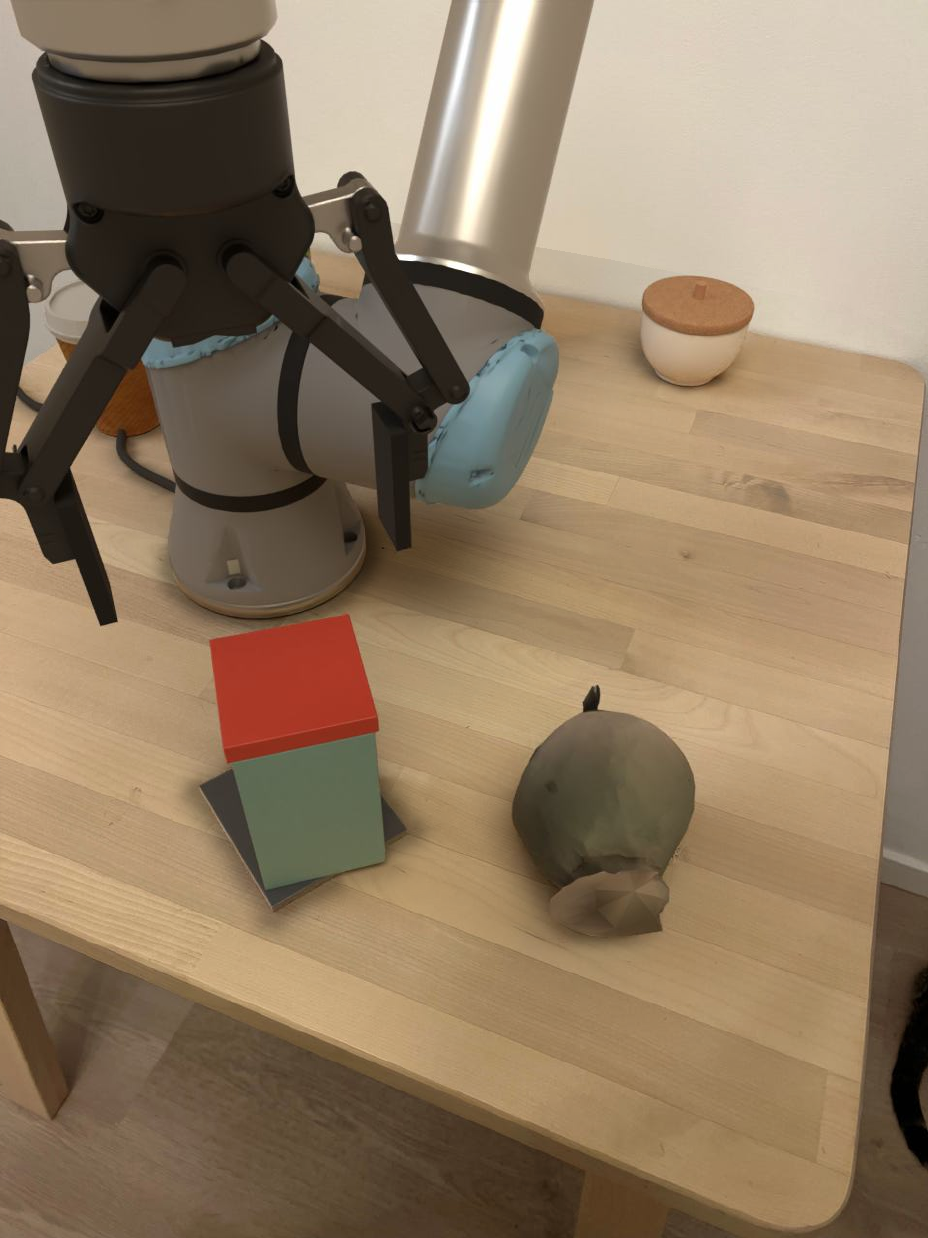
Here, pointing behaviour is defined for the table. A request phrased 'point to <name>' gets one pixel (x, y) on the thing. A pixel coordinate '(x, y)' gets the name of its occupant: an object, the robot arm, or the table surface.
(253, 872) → the slate tile
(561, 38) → the robot arm
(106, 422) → the disposable coffee cup
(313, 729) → the container
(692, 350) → the trinket box
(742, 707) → the table surface
